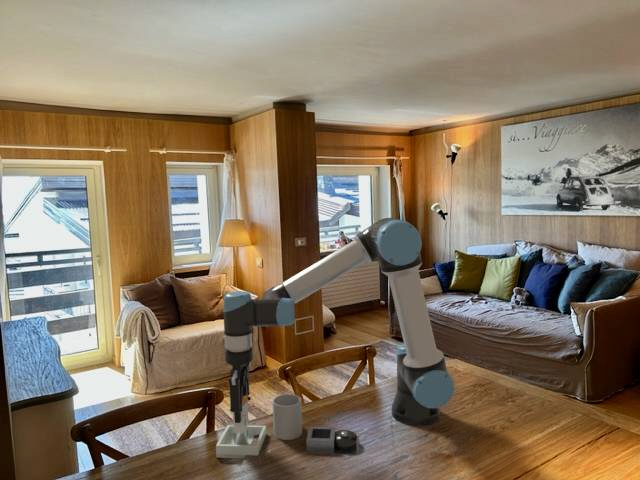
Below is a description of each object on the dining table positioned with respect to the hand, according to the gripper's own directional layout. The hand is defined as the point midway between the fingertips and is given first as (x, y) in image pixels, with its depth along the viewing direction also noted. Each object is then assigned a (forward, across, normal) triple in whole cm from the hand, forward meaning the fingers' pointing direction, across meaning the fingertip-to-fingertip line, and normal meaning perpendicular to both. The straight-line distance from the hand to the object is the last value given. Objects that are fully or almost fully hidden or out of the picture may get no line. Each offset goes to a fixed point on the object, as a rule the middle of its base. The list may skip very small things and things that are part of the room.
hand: (241, 427), depth 136 cm
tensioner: (+6, -1, +26) cm, 27 cm away
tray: (+6, 0, 0) cm, 6 cm away
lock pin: (+5, 0, 0) cm, 5 cm away
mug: (+6, -9, +12) cm, 16 cm away
